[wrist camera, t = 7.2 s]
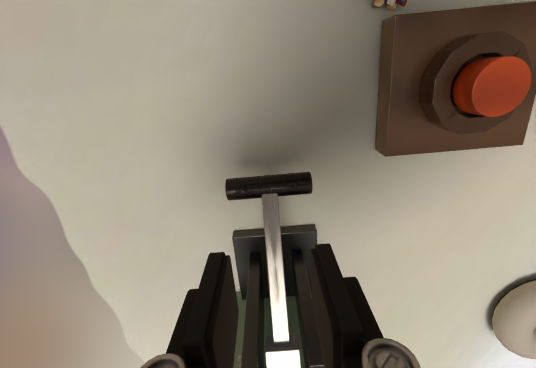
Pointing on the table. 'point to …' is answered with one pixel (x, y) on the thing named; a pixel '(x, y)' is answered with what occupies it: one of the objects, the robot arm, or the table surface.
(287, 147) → the table surface
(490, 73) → the button
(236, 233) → the bracket
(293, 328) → the toaster
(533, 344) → the donut
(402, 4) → the woven mat
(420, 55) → the control block
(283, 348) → the lever
